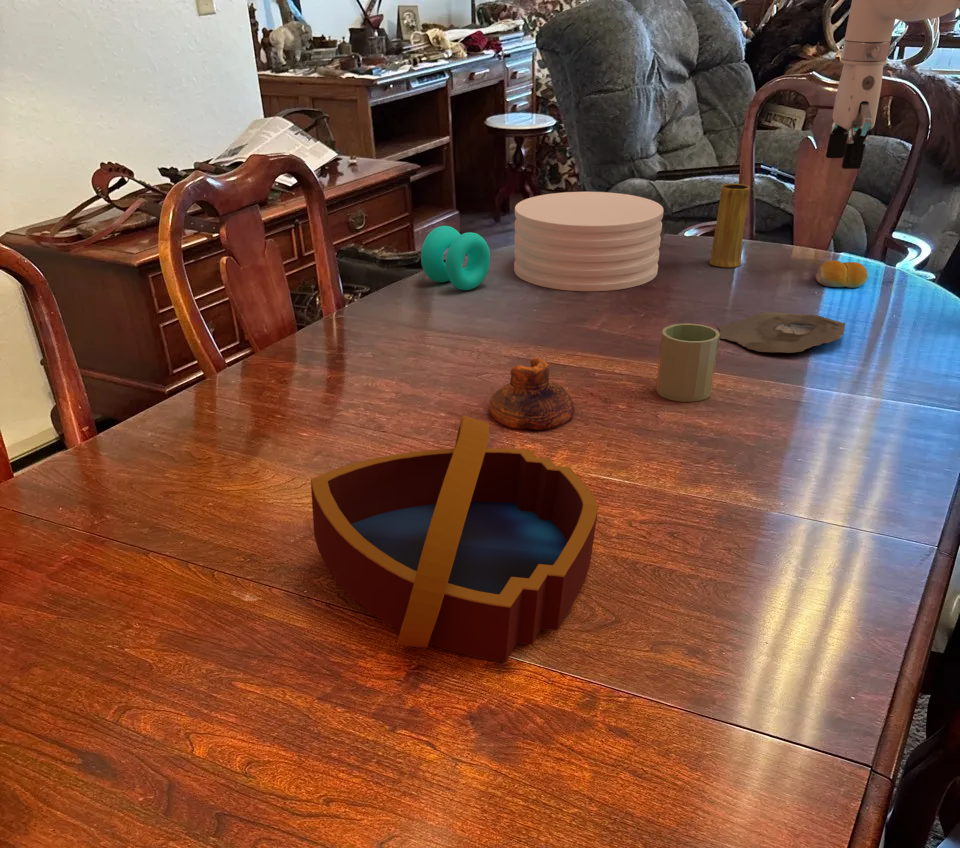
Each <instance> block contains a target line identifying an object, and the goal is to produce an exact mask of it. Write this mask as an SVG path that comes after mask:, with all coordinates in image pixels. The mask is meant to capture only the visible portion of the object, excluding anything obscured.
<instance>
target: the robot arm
mask: <svg viewBox="0 0 960 848" xmlns="http://www.w3.org/2000/svg"><path fill="white" fill-rule="evenodd" d="M959 8H960V0H851V4H850V9H849V15H848V19H847V25H846V30H845V34H844V35H845V36H844V40H843V46H842V51H841V56H840V60H839V63H841V64H843V65H842V69H841V72H840V78H839V81H838V86H837V90H836V95H835V99H834V103H833V109H832V120H831V121H832V124H831V127H830V131H829V132H830V134H829V137H828V143H827V148H826V153H825V157H826V158H827V159H842V163H841V168H842V169H844V170H858V169H860V168H861V167H862V162H863V158H864V152H865V147H866V144H867V141H868V136H869V134H870V131H871V130H872V129H873V128H874V127H875V124H876V120H877V119H876V118H877V113H878V109H879V102H880V97H881V90H882V83H883V73H884V66H885V65H886V64H887V59H888V56H889V51H890V45H891V41H892V36H893V31H894V27H895V22H896V20H899V21H901V22H919V21H924V20H932V19H937V18H940V17H943V16H946V15H947V14H950V13H952V12H954V11H956V10H958V9H959ZM847 132H848V133H847Z"/></svg>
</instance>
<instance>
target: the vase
mask: <svg viewBox="0 0 960 848" xmlns="http://www.w3.org/2000/svg"><path fill="white" fill-rule="evenodd" d="M750 191H751V189H750V186H749V185H747V184H744V183H724V184H722V185H721V188H720V194H719V195H720V196H719V204H718V211H717V217H716V224H715V230H714V235H713V240H712V245H711V246H712V247H711V253H710V259H709V265H711V266H713V267H716V268H720V269H734V268H738V267H739V266H740V265H742V253H743V242H744V241H743V240H744V229H745V223H746V218H747V211H748V202H749V198H750V197H749V196H750Z"/></svg>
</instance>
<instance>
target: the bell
mask: <svg viewBox="0 0 960 848" xmlns="http://www.w3.org/2000/svg"><path fill="white" fill-rule="evenodd" d="M509 380H510V381H509V383H507V384H505V385H504V386H502V387H501V388H499V389H497V390H496V391H495V392H494V393H493V394H492V396H491V397H490V400H489V402H488V410H489V413H490V415H491V416H492V417H493V419H494V420H495V421H497V422H498V423H499V424H501V425H503V426H506V427H509V428H511V429H517V430H534V431H542V430H543V431H544V430H550V429H553V428H557V427H559V426H561V425H564V424H565V423H567V422H569V420H570V419H571V418H572V417H573V415H574V413H575V403H574V400H573V399H572V397H571V395H570V394H569V392H568V390H566V388H564V387H563V385H561V384H559V383H557V382H555V381H552V380H550V364H548V363H547V362H546V361H545V360H544V359H542V358H540V357H534V358H532V359H530V366H524V365H521V364H517V365H514V366H512V368H511V369H510V379H509Z"/></svg>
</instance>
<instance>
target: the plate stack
mask: <svg viewBox="0 0 960 848" xmlns="http://www.w3.org/2000/svg"><path fill="white" fill-rule="evenodd" d="M514 216H515V220H514V231H515V234H514V246H515V247H514V252H513V253H514V255H513V257H514V262H513V263H514V264H513V272H514V274H515V275H516V276H517V277H518V278H519V279H521V281H524V282H527V283H528V284H531V285H534V286H539V287H542V288H548V289H553V290H560V291H569V292H608V291H609V292H611V291H618V290H619V291H620V290H625V289H630V288H634V287H639V286H642V285H645V284H647V283H649V282H651V281H653V280H654V279H655V278H656V277H657V275H658V271H659V264H658V262H659V260H660V247H661V241H662V237H661V233H662V231H663V222H662V220H663V218H664V207H663V205H661V204H660V203H658V202H657V201H655V200H652V199H650V198H646V197H643V196H638V195H633V194H627V193H618V192H608V191H607V192H606V191H564V192H555V193H554V192H553V193H547V194H540V195H535V196H532V197H531V196H530V197H529V198H525V199H522V200H521V201H519V202H517V203H516V204H515V207H514Z"/></svg>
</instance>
